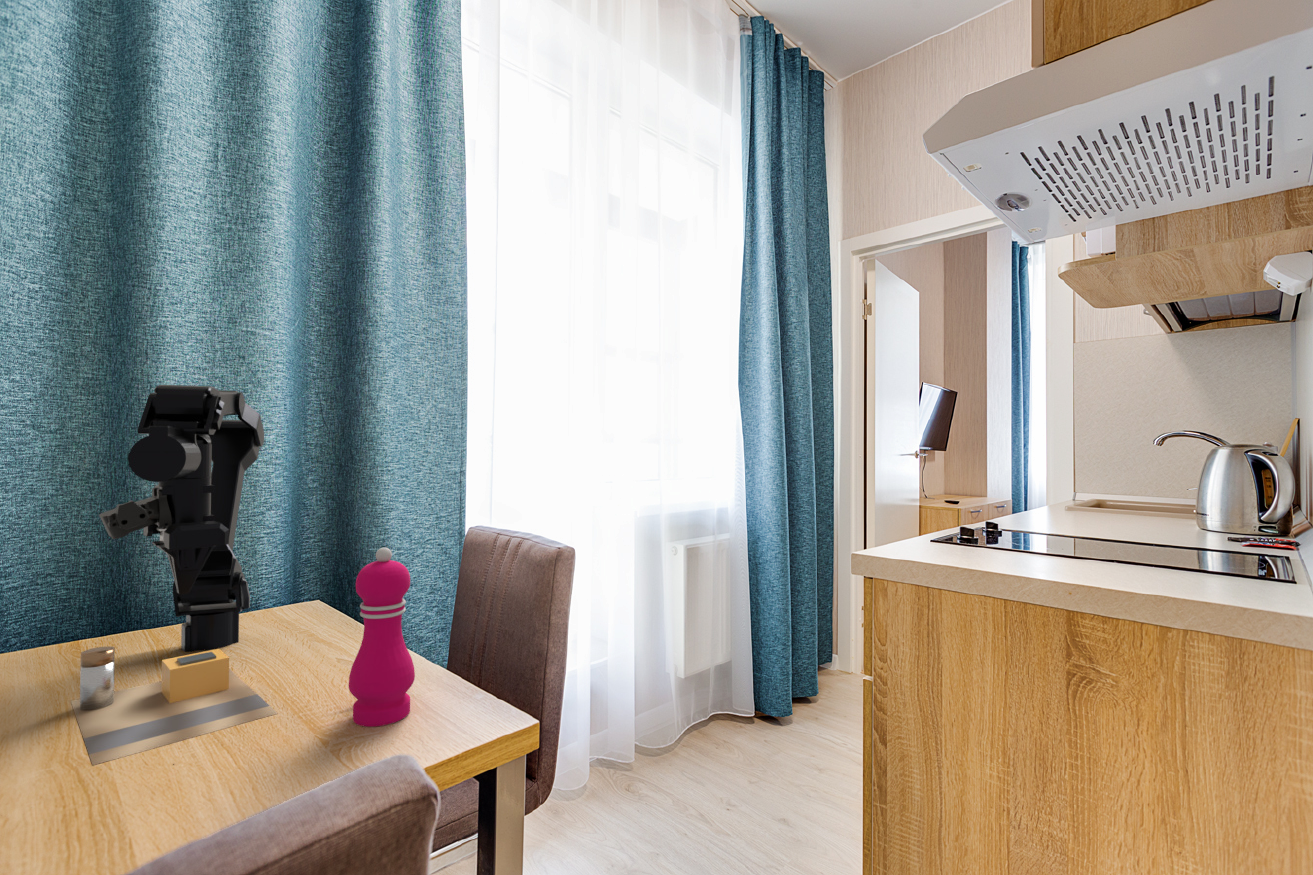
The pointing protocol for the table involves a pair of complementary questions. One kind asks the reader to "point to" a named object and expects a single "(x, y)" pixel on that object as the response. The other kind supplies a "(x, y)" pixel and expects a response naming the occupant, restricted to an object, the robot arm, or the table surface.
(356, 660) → the pepper mill
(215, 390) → the robot arm
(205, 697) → the beige flat piece
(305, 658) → the table surface
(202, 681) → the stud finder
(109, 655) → the metal peg
